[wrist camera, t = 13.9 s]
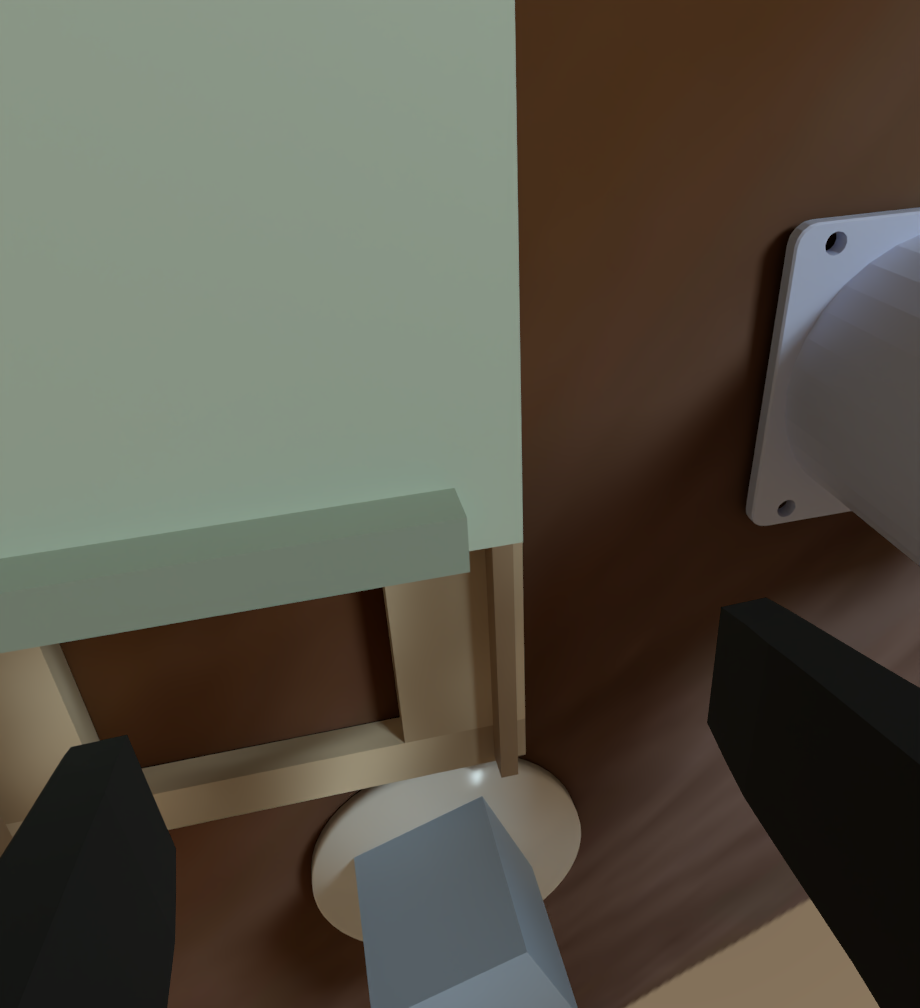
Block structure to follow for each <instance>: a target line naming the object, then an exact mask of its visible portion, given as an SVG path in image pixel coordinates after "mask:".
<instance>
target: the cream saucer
mask: <svg viewBox="0 0 920 1008" xmlns="http://www.w3.org/2000/svg"><path fill="white" fill-rule="evenodd" d="M481 796H482V797H483V798H484V799H485V801H486V802H487V804H488V805H489V806H490V808H491V809H492V811H493V812H494V814H495V815H496V816H497V818H498V819H499V821H500V822H501V824H502V825H503V826H504V828H505V829H506V831H507V832H508V834H509V835H510V836H511V838H512V839H513V841H514V842H515V844H516V845H517V846H518V848H519V849H520V851H521V852H522V853H523V855H524V856H525V858H526V859H527V861H528V862H529V863H530V865H531V866H532V868H533V871H534V874H535V877H536V880H537V884H538V887H539V890H540V893H541V896H542V899H543V900H544V899H545V898H546V897H547V896H548V895H549V894H550V893H551V892H552V891H554V889H555V888H556V887H557V886H558V885H559V884H560V883H561V881H562V880H563V879H564V877H565V876H566V875H567V873H568V872H569V870H570V869H571V867H572V865H573V863H574V861H575V859H576V856H577V853H578V850H579V847H580V840H581V825H580V821H579V817H578V814H577V811H576V809H575V806H574V804H573V801H572V799H571V797H570V795H569V793H568V791H567V789H566V788H565V787H564V785H563V784H562V783H561V782H560V781H559V780H558V779H557V778H556V777H555V776H554V775H553V774H551V773H550V772H549V771H547V770H545V769H544V768H542V767H540V766H539V765H536V764H534V763H531V762H529V761H526V760H523V759H520V758H518V774H517V775H513V776H508V777H503V778H501V775H500V772H499V769H498V765H497V762H496V761H493V762H488V763H483V764H478V765H474V766H469V767H464V768H459V769H455V770H450V771H445V772H440V773H436V774H431V775H426V776H422V777H417V778H412V779H407V780H403V781H398V782H393V783H388V784H384V785H379V786H374V787H369V788H365V789H362V790H361V791H359V792H358V793H357V794H355V795H354V796H353V797H351V798H350V799H349V800H348V801H347V802H346V803H345V804H344V805H342V806H341V807H340V808H339V809H338V810H337V812H336V813H335V814H334V815H333V816H332V817H331V818H330V820H329V821H328V822H327V824H326V825H325V827H324V828H323V830H322V831H321V833H320V835H319V838H318V840H317V842H316V844H315V847H314V851H313V855H312V864H311V874H312V887H313V895H314V898H315V901H316V904H317V907H318V908H319V910H320V911H321V913H322V915H323V916H324V917H325V918H326V919H327V920H328V921H329V922H330V923H331V924H332V925H333V926H334V927H335V928H337V929H338V930H340V931H341V932H343V933H345V934H346V935H348V936H350V937H352V938H355V939H357V940H360V941H363V934H362V925H361V916H360V907H359V899H358V890H357V881H356V872H355V863H354V858H355V857H357V856H359V855H361V854H363V853H365V852H367V851H369V850H371V849H373V848H375V847H377V846H379V845H382V844H384V843H386V842H388V841H390V840H392V839H394V838H396V837H398V836H400V835H402V834H404V833H406V832H409V831H411V830H413V829H415V828H417V827H419V826H421V825H423V824H425V823H427V822H429V821H431V820H433V819H436V818H438V817H440V816H442V815H444V814H446V813H448V812H450V811H452V810H454V809H456V808H458V807H460V806H463V805H465V804H467V803H469V802H471V801H473V800H475V799H477V798H479V797H481Z"/></svg>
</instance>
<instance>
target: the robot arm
mask: <svg viewBox="0 0 920 1008" xmlns="http://www.w3.org/2000/svg"><path fill="white" fill-rule="evenodd" d="M835 232H836V241H835V243H834V245H833V246H832V247H831V248H830V249H829V250H826V247H825V245H826V242H827V240H828V238H829V237H830V236H831V235H832V234H833V233H835ZM784 501H787V502H786V504H785V505H784V506H783V507H782V508H779V509H778V507H779V505H780V504H782V503H783V502H784ZM849 511H853V512H854V513H855V514H856V515H857V516H859V517H860V518H861V519H862V520H864V521H865V522H866V523H867V524H868V525H870V526H871V527H872V528H873V529H875V530H876V531H877V532H878V533H879V534H881V535H882V536H883V537H884V538H886V539H887V540H888V541H889V542H890V543H892V544H893V545H894V546H895V547H897V548H898V549H899V550H900V551H901V552H903V553H904V554H905V555H906V556H908V557H909V558H910V559H911V560H912V561H914V562H915V563H916V564H917V565H919V566H920V207H919V208H910V209H901V210H892V211H883V212H874V213H865V214H856V215H847V216H838V217H829V218H820V219H811V220H808V221H805V222H802V223H801V224H800V225H799V226H797V227H796V228H795V229H794V231H793V232H792V233H791V235H790V237H789V240H788V243H787V247H786V254H785V260H784V266H783V273H782V279H781V286H780V292H779V298H778V305H777V311H776V317H775V324H774V330H773V337H772V343H771V349H770V356H769V362H768V369H767V375H766V381H765V388H764V394H763V400H762V407H761V413H760V420H759V426H758V432H757V439H756V445H755V452H754V458H753V464H752V471H751V477H750V484H749V490H748V496H747V503H746V514H747V516H748V517H749V518H750V519H751V520H752V521H753V522H754V523H755V524H757V525H759V526H769V525H774V524H780V523H786V522H792V521H797V520H803V519H809V518H815V517H820V516H826V515H832V514H838V513H843V512H849ZM707 723H708V725H709V727H710V729H711V731H712V734H713V736H714V738H715V740H716V742H717V744H718V746H719V748H720V750H721V752H722V755H723V757H724V759H725V761H726V763H727V765H728V767H729V769H730V771H731V773H732V775H733V777H734V778H735V780H736V782H737V784H738V786H739V788H740V790H741V792H742V794H743V796H744V798H745V799H746V801H747V802H748V804H749V805H750V807H751V809H752V810H753V812H754V813H755V815H756V816H757V818H758V819H759V821H760V823H761V824H762V826H763V827H764V829H765V830H766V832H767V833H768V835H769V836H770V838H771V840H772V841H773V843H774V844H775V846H776V847H777V849H778V850H779V852H780V853H781V855H782V856H783V858H784V859H785V861H786V862H787V864H788V865H789V867H790V869H791V870H792V872H793V873H794V875H795V876H796V878H797V879H798V881H799V882H800V884H801V885H802V887H803V888H804V890H805V891H806V893H807V894H808V896H809V897H810V899H811V900H812V902H813V903H814V905H815V906H816V908H817V909H818V911H819V912H820V914H821V915H822V917H823V918H824V920H825V922H826V923H827V924H828V926H829V927H830V929H831V931H832V932H833V934H834V935H835V937H836V938H837V940H838V941H839V943H840V944H841V946H842V947H843V949H844V950H845V952H846V953H847V955H848V956H849V958H850V959H851V961H852V962H853V964H854V966H855V967H856V969H857V971H858V972H859V974H860V975H861V977H862V978H863V980H864V982H865V983H866V985H867V987H868V988H869V990H870V992H871V993H872V995H873V997H874V998H875V1000H876V1002H877V1003H878V1005H879V1007H880V1008H920V688H919V687H917V686H916V685H914V684H912V683H910V682H909V681H907V680H905V679H903V678H902V677H900V676H898V675H897V674H895V673H893V672H892V671H890V670H888V669H886V668H885V667H883V666H881V665H880V664H878V663H876V662H875V661H873V660H871V659H870V658H868V657H866V656H865V655H863V654H861V653H860V652H858V651H856V650H855V649H853V648H851V647H850V646H848V645H846V644H845V643H843V642H841V641H840V640H838V639H836V638H835V637H833V636H831V635H830V634H828V633H826V632H825V631H823V630H821V629H820V628H818V627H816V626H815V625H813V624H811V623H810V622H808V621H806V620H804V619H803V618H801V617H799V616H798V615H796V614H794V613H793V612H791V611H789V610H787V609H786V608H784V607H782V606H780V605H779V604H777V603H775V602H773V601H771V600H770V599H768V598H762V599H757V600H752V601H748V602H743V603H738V604H734V605H729V606H724V607H721V613H720V621H719V630H718V638H717V646H716V654H715V663H714V671H713V679H712V688H711V696H710V704H709V712H708V721H707ZM175 914H176V848H175V846H174V843H173V841H172V839H171V836H170V834H169V832H168V829H167V827H166V825H165V822H164V820H163V818H162V815H161V813H160V811H159V808H158V806H157V804H156V801H155V799H154V797H153V794H152V792H151V790H150V787H149V785H148V783H147V780H146V778H145V776H144V773H143V771H142V769H141V766H140V764H139V762H138V759H137V757H136V755H135V752H134V750H133V748H132V745H131V743H130V741H129V738H128V736H127V735H124V736H120V737H115V738H110V739H106V740H101V741H96V742H92V743H87V744H82V745H78V746H73V747H70V749H69V750H68V751H67V752H66V754H65V755H64V756H63V758H62V760H61V761H60V763H59V764H58V766H57V767H56V769H55V771H54V772H53V774H52V775H51V777H50V779H49V780H48V782H47V783H46V785H45V787H44V788H43V790H42V792H41V793H40V795H39V796H38V798H37V800H36V801H35V803H34V804H33V806H32V808H31V809H30V811H29V812H28V814H27V816H26V817H25V819H24V821H23V822H22V824H21V825H20V827H19V829H18V830H17V832H16V833H15V835H14V836H13V838H12V840H11V841H10V843H9V844H8V846H7V847H6V849H5V851H4V852H3V854H2V855H1V857H0V1008H167V1004H168V995H169V987H170V979H171V970H172V962H173V953H174V944H175Z"/></svg>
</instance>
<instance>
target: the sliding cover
mask: <svg viewBox="0 0 920 1008" xmlns="http://www.w3.org/2000/svg"><path fill="white" fill-rule="evenodd" d="M521 542H523V506H522V442H521V377H520V313H519V248H518V183H517V119H516V54H515V0H0V653H5V652H11V651H17V650H22V649H28V648H34V647H40V646H46V645H51V644H57V643H63V642H69V641H75V640H80V639H86V638H92V637H98V636H103V635H109V634H115V633H121V632H127V631H132V630H138V629H144V628H150V627H155V626H161V625H167V624H173V623H179V622H184V621H190V620H196V619H202V618H208V617H213V616H219V615H225V614H231V613H236V612H242V611H248V610H254V609H260V608H265V607H271V606H277V605H283V604H288V603H294V602H300V601H306V600H312V599H317V598H323V597H329V596H335V595H341V594H346V593H352V592H358V591H364V590H369V589H375V588H381V587H387V586H393V585H398V584H404V583H410V582H416V581H421V580H427V579H433V578H439V577H445V576H450V575H456V574H462V573H468V572H470V560H469V551H474V550H480V549H486V548H492V547H498V546H504V545H510V544H515V543H521Z"/></svg>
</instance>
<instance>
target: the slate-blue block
mask: <svg viewBox="0 0 920 1008" xmlns="http://www.w3.org/2000/svg"><path fill="white" fill-rule="evenodd" d="M354 863H355V872H356V881H357V890H358V899H359V907H360V916H361V925H362V934H363V943H364V952H365V960H366V969H367V978H368V987H369V996H370V1005H371V1008H578V1007H577V1004H576V1001H575V998H574V995H573V992H572V989H571V985H570V982H569V979H568V976H567V973H566V970H565V967H564V964H563V961H562V958H561V955H560V952H559V948H558V945H557V942H556V939H555V936H554V933H553V930H552V927H551V924H550V921H549V918H548V914H547V911H546V908H545V905H544V902H543V899H542V896H541V893H540V890H539V887H538V884H537V880H536V877H535V874H534V871H533V868H532V866H531V865H530V863H529V862H528V861H527V859H526V858H525V856H524V855H523V853H522V852H521V851H520V849H519V848H518V846H517V845H516V844H515V842H514V841H513V839H512V838H511V836H510V835H509V834H508V832H507V831H506V829H505V828H504V826H503V825H502V824H501V822H500V821H499V819H498V818H497V816H496V815H495V814H494V812H493V811H492V809H491V808H490V806H489V805H488V804H487V802H486V801H485V799H484V798H483V797H482V796H481V797H479V798H477V799H475V800H473V801H471V802H469V803H467V804H465V805H463V806H460V807H458V808H456V809H454V810H452V811H450V812H448V813H446V814H444V815H442V816H440V817H438V818H436V819H433V820H431V821H429V822H427V823H425V824H423V825H421V826H419V827H417V828H415V829H413V830H411V831H409V832H406V833H404V834H402V835H400V836H398V837H396V838H394V839H392V840H390V841H388V842H386V843H384V844H382V845H379V846H377V847H375V848H373V849H371V850H369V851H367V852H365V853H363V854H361V855H359V856H357V857H355V858H354Z"/></svg>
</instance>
